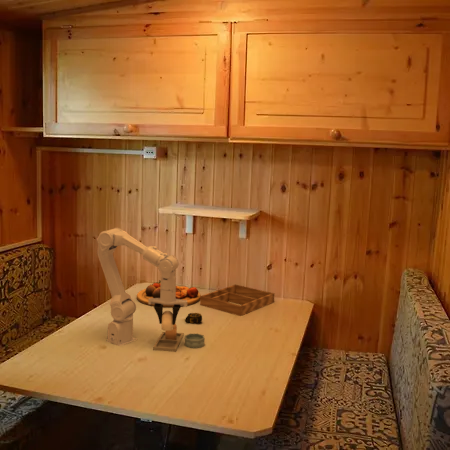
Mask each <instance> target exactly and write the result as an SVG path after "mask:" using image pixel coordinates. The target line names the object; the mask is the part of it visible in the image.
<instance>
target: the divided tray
mask: <svg viewBox="0 0 450 450" xmlns="http://www.w3.org/2000/svg"><path fill="white" fill-rule="evenodd" d="M184 337H185V334H184V333H183V332H177V338H176V340H168V339H165V331H162V332H161V334H160V335H159V337H158V338H157V340H156V341H155V343H154V345H153V346H152V351H160V352H161V351H162V352H174V353H176V352H177V350H178V348H179V346H180V344H181V342H182V340H183V339H184Z"/></svg>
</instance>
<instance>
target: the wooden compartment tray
mask: <svg viewBox="0 0 450 450" xmlns="http://www.w3.org/2000/svg"><path fill="white" fill-rule="evenodd" d="M274 302H275V293H274V292H269V291H265V290H261V289H257V288H253V287H249V286H244V285H241V284H240V285H239V284H233V285H229V286H227V287H223V288H220V289H218V290H215V291H211V292H209V293H205V294H202V295H201V296H200V300H199V306H202V307H206V308H210V309H212V310H217V311H221V312H225V313H229V314H232V315H235V316H238V317H242V316H245V315H246V314H249V313H252V312H254V311H256V310H258V309H261V308H263V307H265V306H268V305H271V304H274Z"/></svg>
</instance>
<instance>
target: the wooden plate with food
mask: <svg viewBox="0 0 450 450" xmlns="http://www.w3.org/2000/svg"><path fill="white" fill-rule="evenodd" d="M160 288H161V279H160V280H159V282H153V283H152V284H148V286H147V287H146V288H144V289H142V290H140V291H139V292H137V294H136V299H137V300H138V302H139V303H142V304H144V305H146V306H149V307H150V306H151V307H154V306H155V304H148V299H149V298H160ZM200 296H202V295H201V293H200V292H199V289H198V288H197V287H196V286H195V287H194V286H193V287H188V286H179V285H176V299H181V300H187V306H191V305H194V304H196V303H199V302H200ZM173 306H174V305H163V308H173ZM182 307H183V306H181V307H180V308H182Z"/></svg>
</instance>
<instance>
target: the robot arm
mask: <svg viewBox="0 0 450 450" xmlns="http://www.w3.org/2000/svg"><path fill="white" fill-rule="evenodd" d="M96 243H97V250H96V251H97V252H96V253H97V254H96V255H97V257H98V260H99V264H100V266H101V269H102V271H103V275H104V278H105V281H106V283H107V287H108V289H109V293H110V295H111V300H110V303H109V305H110V316H111V317H112V319H113V320H112V321H111V322H109V323H108V325H107V340H106V342H107V343H110V344H113V345H115V346H118V347H122V346H125V345H126V344H129V343H132V342H135V341H137V340H138V338H137V337H134V313H135V312H136V310H137V305H136V302H135V301H134V300H133V299H132V297H131V294H129V293H128V292H127V291H126V289H125V287H124V284H123V281H122V278H121V275H120V272H119V269H118V265H117V263H116V260H115V257H114V253H115V251H116V249H117V247H121V246H125V247H126V248H129V249H131V250H133V251H134V252H137V253H138V254H141V255H142V258H143V260H145V261H147V262H148V263H149V264H151V265H153V266H155V267H157V268H158V270H159V272H160V280H161V288H160V298H149V299H148V304H155V306H153V309H154V311H155V313H156V315H157V317H158V322H159V324H160V325H162V314H163V312H164V311H163V310H164V307H163V305H174V306H173V307H172V313H173V325H175V324H176V323H177V322H176V321H177V317H178V315H179V312H180V310H181V308H182V307H184V308H185V307H186V308H187V306H188V305H187V300H181V299H176V286H177V269H178V267H179V265H180V263H179V260H178V258H177V257H176V256H175V255H173V254H171V255H170V254H169V255H168V253H167V252H165V253H164V252H162V251H161V250H159V249H158V247H157V246H155V245H154V246H153V245H149V246H146V245H145V244H143V243H142V242H140V240H137V239H136V238H134V237H133V236H131V235H130V234H129V233H128V232H127V231H126V230H123V229H122V228H120V227H114V228H111V229H108V230H103V231H101V232H100V233H99V234H98V236H97V238H96ZM181 306H182V307H181Z"/></svg>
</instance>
